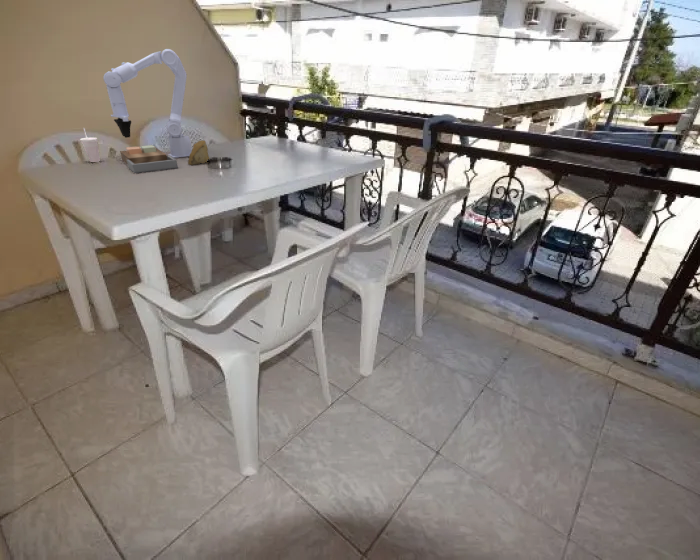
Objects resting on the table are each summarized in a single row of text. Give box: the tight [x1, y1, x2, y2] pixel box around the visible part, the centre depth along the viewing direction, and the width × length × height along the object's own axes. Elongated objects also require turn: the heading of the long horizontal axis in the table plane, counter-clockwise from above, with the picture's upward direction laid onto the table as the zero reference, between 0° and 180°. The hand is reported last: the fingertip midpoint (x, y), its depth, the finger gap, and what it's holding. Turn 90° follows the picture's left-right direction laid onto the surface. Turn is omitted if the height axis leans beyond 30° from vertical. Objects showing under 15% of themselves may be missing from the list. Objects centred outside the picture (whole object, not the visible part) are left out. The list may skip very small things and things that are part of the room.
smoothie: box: [79, 127, 101, 163], centre depth 162 cm, size 6×6×14 cm
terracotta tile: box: [125, 145, 142, 154], centre depth 165 cm, size 5×5×2 cm
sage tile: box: [140, 144, 157, 153], centre depth 169 cm, size 5×5×2 cm
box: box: [126, 155, 179, 174], centre depth 159 cm, size 17×10×4 cm, turn 129°
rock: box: [187, 140, 210, 166], centre depth 169 cm, size 11×9×10 cm
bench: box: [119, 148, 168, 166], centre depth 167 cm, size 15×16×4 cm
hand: (126, 136), depth 169 cm, fingers open, 3 cm apart
